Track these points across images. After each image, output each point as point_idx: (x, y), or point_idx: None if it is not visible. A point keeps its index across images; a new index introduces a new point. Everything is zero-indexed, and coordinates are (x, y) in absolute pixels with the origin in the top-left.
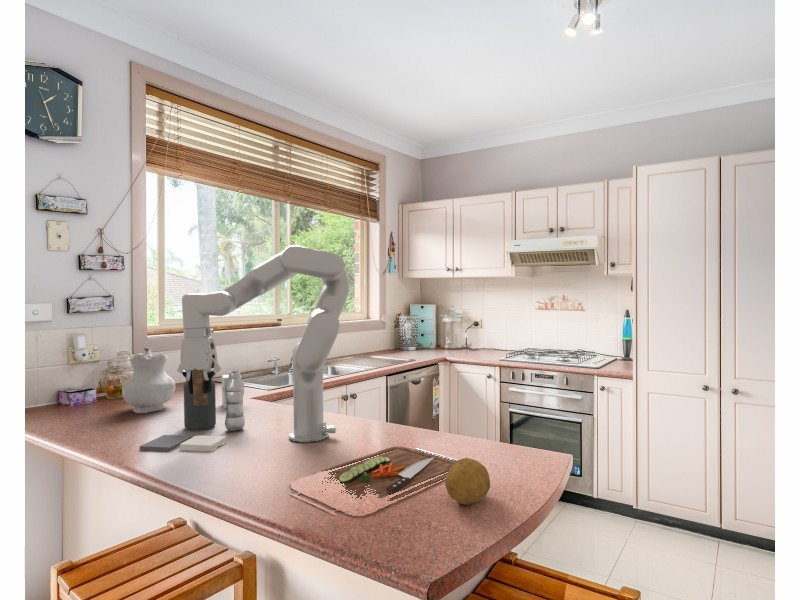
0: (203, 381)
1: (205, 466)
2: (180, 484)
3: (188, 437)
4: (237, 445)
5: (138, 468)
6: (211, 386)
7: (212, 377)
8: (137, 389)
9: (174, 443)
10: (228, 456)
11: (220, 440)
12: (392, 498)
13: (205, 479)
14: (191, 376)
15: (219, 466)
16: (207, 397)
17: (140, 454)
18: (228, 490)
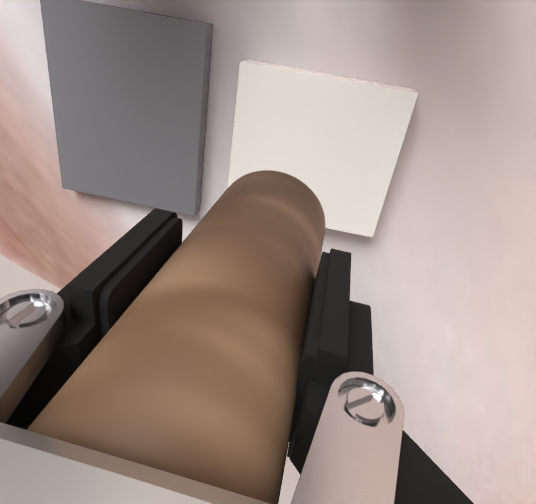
0: (290, 448)
1: (389, 365)
2: None
3: (199, 58)
4: (482, 147)
5: None
6: (370, 318)
7: (399, 411)
8: None
9: (182, 161)
10: (455, 289)
11: (398, 155)
12: None
13: None
14: (36, 388)
15: (436, 371)
16: (318, 237)
17: (110, 231)
18: (486, 501)
